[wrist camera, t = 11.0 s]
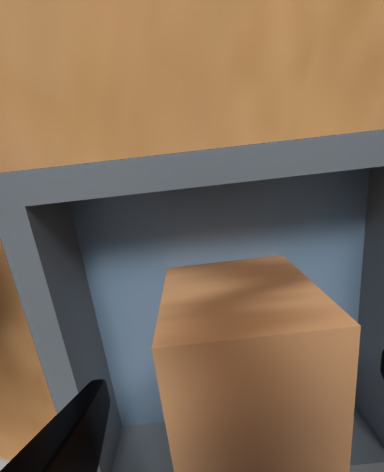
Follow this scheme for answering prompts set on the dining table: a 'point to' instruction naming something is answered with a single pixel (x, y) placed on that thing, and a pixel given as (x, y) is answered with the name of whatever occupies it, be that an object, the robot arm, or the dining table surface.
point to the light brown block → (255, 369)
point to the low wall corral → (190, 253)
